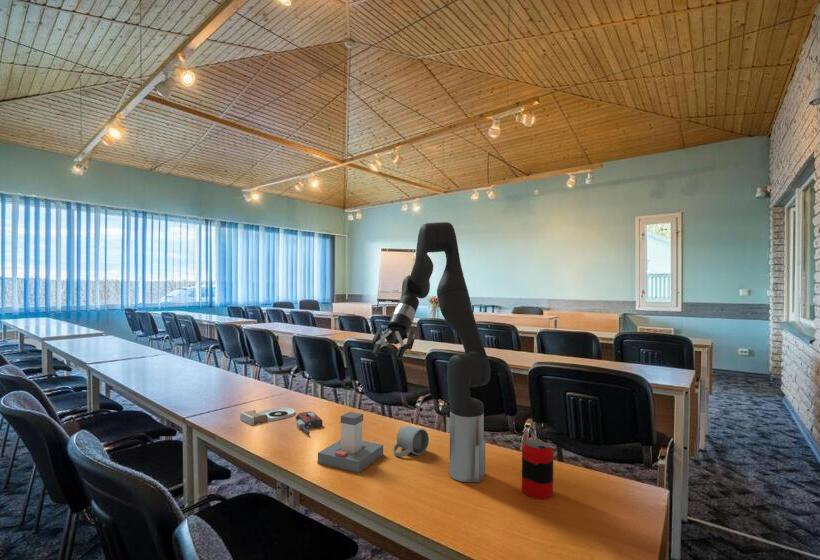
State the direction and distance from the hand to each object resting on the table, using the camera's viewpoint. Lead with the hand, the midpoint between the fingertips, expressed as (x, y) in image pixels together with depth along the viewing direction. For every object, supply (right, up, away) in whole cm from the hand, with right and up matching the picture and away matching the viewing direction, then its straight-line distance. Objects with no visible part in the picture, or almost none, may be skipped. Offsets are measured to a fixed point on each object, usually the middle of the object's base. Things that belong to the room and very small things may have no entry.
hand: (386, 357), depth 135 cm
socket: (-10, -28, -11) cm, 32 cm away
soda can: (+40, -29, -30) cm, 58 cm away
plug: (-10, -28, -11) cm, 32 cm away
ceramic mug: (+8, -29, -6) cm, 31 cm away
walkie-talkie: (-29, -29, +17) cm, 45 cm away
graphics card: (-47, -29, +28) cm, 62 cm away
